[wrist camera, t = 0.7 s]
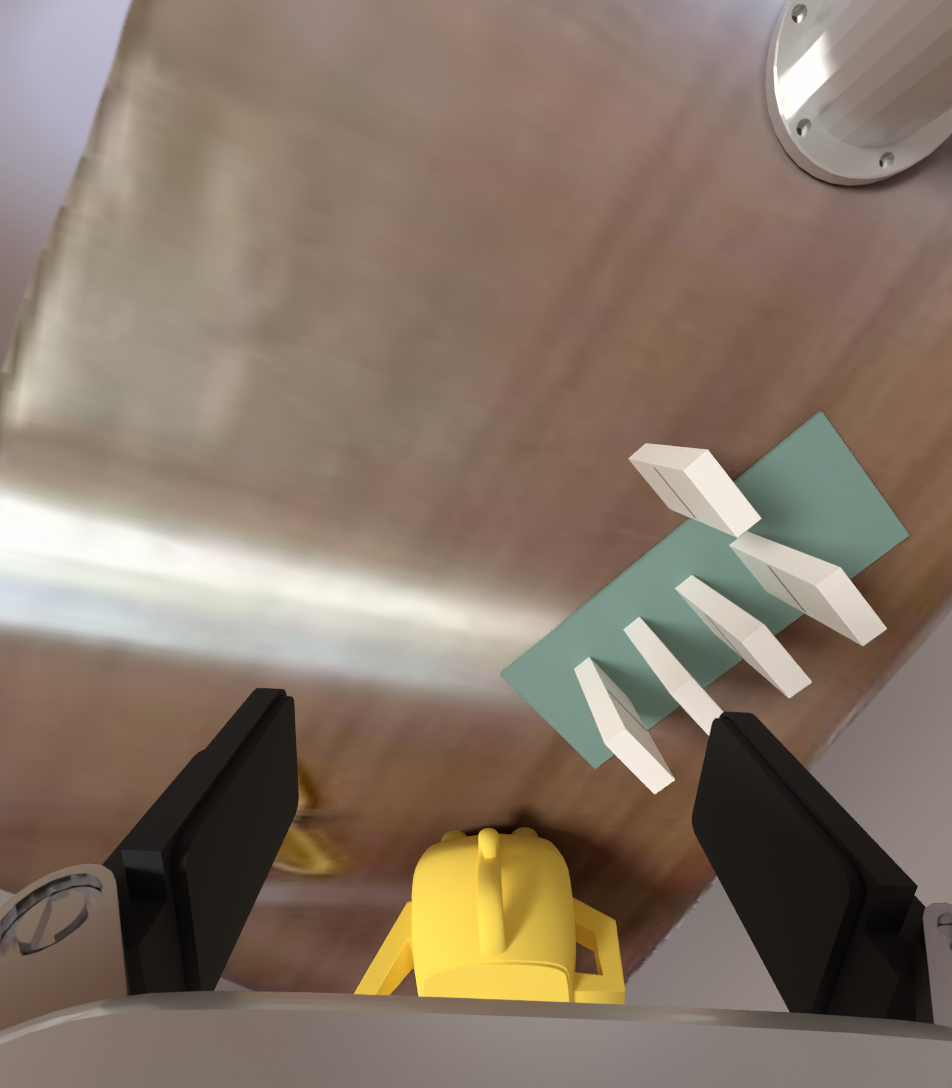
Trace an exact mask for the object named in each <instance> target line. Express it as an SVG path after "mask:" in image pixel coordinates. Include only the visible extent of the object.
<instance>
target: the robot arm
mask: <svg viewBox="0 0 952 1088" xmlns="http://www.w3.org/2000/svg"><path fill="white" fill-rule="evenodd" d="M765 91H766V98H767V105H768V112H769V115H770V119H771V122H772V125H773V128H774V131H775V134H776V135H777V137H778V139H779V141H780V142H781V144H782V146H783V148H784V149H785V151H786V152H787V153H788V155H789V156H790V157H791V158H792V159H793V160H794V161H795V162H796V164H797V165H798V166H800V167H801V168H802V169H804V170H805V171H807V172H808V173H810V174H811V175H812V176H814V177H816V178H819V179H822V180H824V181H827V182H829V183H833V184H840V185H848V186H853V185H864V184H871V183H875V182H878V181H881V180H884V179H888V178H890V177H892V176H894V175H896V174H898V173H900V172H902V171H904V170H906V169H907V168H909V167H911V166H912V165H914V164H915V163H917V162H919V161H920V160H922V159H923V158H925V157H926V156H928V155H930V154H931V153H932V152H933V151H934V150H935V149H936V148H938V147H939V146H940V145H941V144H942V143H943V142H944V141H945V140H947V139H948V138H949V136H950V135H951V134H952V0H786V2H785V4H784V6H783V8H782V10H781V12H780V14H779V16H778V19H777V22H776V25H775V28H774V31H773V34H772V37H771V40H770V46H769V51H768V57H767V62H766V84H765ZM298 800H299V793H298V772H297V751H296V731H295V710H294V699H293V697H292V696H287V695H286V692H285V690H284V689H271V688H256V689H255V690H254V691H253V692H252V693H251V695H250V696H249V697H248V698H247V699H246V701H245V702H244V703H243V704H242V705H241V707H240V708H239V709H238V710H237V711H236V713H235V714H234V715H233V716H232V717H231V719H230V720H229V721H228V722H227V723H226V725H225V726H224V727H223V728H222V729H221V731H220V732H219V733H218V734H217V735H216V737H215V738H214V739H213V740H212V741H211V743H210V744H209V745H208V746H207V747H206V749H205V750H202V751H200V752H198V753H197V754H196V755H195V756H194V757H193V758H192V759H191V761H190V762H189V763H188V764H187V765H186V767H185V768H184V769H183V770H182V771H181V772H180V774H179V775H178V776H177V777H176V778H175V780H174V781H173V782H172V783H171V784H170V785H169V787H168V788H167V789H166V790H165V791H164V793H163V794H162V795H161V796H160V797H159V798H158V800H157V801H156V802H155V803H154V804H153V805H152V807H151V808H150V809H149V810H148V811H147V813H146V814H145V815H144V816H143V817H142V818H141V820H140V821H139V822H138V823H137V824H136V826H135V827H134V828H133V829H132V830H131V831H130V833H129V834H128V835H127V836H126V837H125V839H124V840H123V841H122V842H121V843H120V844H119V846H118V847H117V848H116V849H115V850H114V852H113V853H112V854H111V855H110V856H109V857H108V859H107V860H106V861H105V862H104V863H103V865H94V864H84V865H77V866H71V867H68V868H65V869H62V870H59V871H56V872H53V873H51V874H49V875H47V876H45V877H43V878H41V879H39V880H37V881H35V882H34V883H32V884H30V885H29V886H27V887H26V888H24V889H23V890H22V891H20V892H19V893H17V894H16V895H14V896H13V897H12V898H11V899H10V900H9V901H8V902H6V903H5V904H4V906H2V907H1V908H0V1088H952V904H949V903H932V904H930V905H929V906H927V907H925V906H924V905H923V904H922V903H921V902H920V901H919V900H918V899H917V897H916V896H915V895H914V894H915V892H916V889H917V887H918V886H917V885H916V884H915V883H914V882H913V881H912V880H911V879H910V878H909V877H908V875H907V874H906V873H904V872H903V870H902V869H901V868H900V867H899V866H898V865H897V864H896V863H895V862H894V861H893V860H892V859H891V858H890V857H889V856H888V855H887V853H886V852H885V851H884V850H883V849H882V848H880V846H879V845H878V844H877V843H876V842H875V841H874V840H873V839H872V838H871V837H870V836H869V835H868V834H867V832H866V831H865V830H864V829H863V828H862V827H861V826H860V825H859V824H858V823H857V822H856V821H855V820H854V819H853V818H852V817H851V816H850V815H849V814H848V813H847V812H846V810H844V808H843V807H842V806H841V805H840V804H839V803H838V802H837V801H836V800H835V799H834V798H833V797H832V796H831V795H830V794H829V793H828V792H827V791H826V790H825V789H824V788H823V786H822V785H820V783H819V782H818V781H817V780H816V779H815V778H814V777H813V776H812V775H811V774H810V773H809V772H808V771H807V770H806V769H805V768H804V766H803V765H802V764H801V763H800V762H799V761H798V760H797V759H796V758H795V757H794V756H793V755H792V754H791V753H790V752H789V751H788V750H787V749H786V748H785V747H784V746H783V744H782V743H781V742H780V741H779V740H778V739H777V738H776V737H775V736H774V735H773V734H772V733H771V732H770V731H769V730H768V729H767V728H766V727H765V726H764V725H763V724H762V722H761V721H760V720H759V719H758V718H757V717H756V716H755V715H753V714H751V713H742V712H723V713H722V714H721V715H720V716H719V718H715V719H714V720H713V722H712V725H711V730H710V735H709V739H708V744H707V748H706V753H705V758H704V762H703V767H702V772H701V776H700V781H699V786H698V790H697V795H696V800H695V804H694V809H693V814H692V825H693V829H694V833H695V835H696V837H697V839H698V841H699V843H700V845H701V846H702V848H703V850H704V852H705V854H706V856H707V858H708V860H709V861H710V863H711V865H712V867H713V869H714V871H715V873H716V875H717V876H718V878H719V880H720V882H721V884H722V886H723V888H724V889H725V891H726V893H727V895H728V897H729V899H730V901H731V903H732V905H733V906H734V908H735V910H736V912H737V914H738V916H739V918H740V920H741V921H742V923H743V925H744V927H745V929H746V931H747V933H748V935H749V936H750V938H751V940H752V942H753V944H754V946H755V948H756V950H757V951H758V953H759V955H760V957H761V959H762V961H763V963H764V965H765V967H766V968H767V970H768V972H769V974H770V976H771V977H772V980H773V982H774V983H775V985H776V987H777V989H778V991H779V993H780V995H781V996H782V998H783V1000H784V1002H785V1004H786V1006H787V1008H788V1010H789V1011H790V1012H769V1011H749V1010H727V1009H707V1008H687V1007H666V1006H645V1005H622V1004H598V1003H575V1002H551V1001H527V1000H502V999H477V998H451V997H423V996H394V995H365V994H337V993H308V992H240V991H239V992H238V991H214V989H215V987H216V985H217V983H218V981H219V979H220V977H221V974H222V972H223V970H224V968H225V966H226V964H227V961H228V959H229V957H230V955H231V953H232V951H233V948H234V946H235V944H236V942H237V940H238V938H239V935H240V933H241V931H242V929H243V927H244V925H245V922H246V920H247V918H248V916H249V914H250V912H251V910H252V907H253V905H254V903H255V901H256V899H257V897H258V894H259V892H260V890H261V888H262V886H263V884H264V881H265V879H266V877H267V875H268V873H269V871H270V868H271V866H272V864H273V862H274V860H275V858H276V855H277V853H278V851H279V849H280V847H281V845H282V842H283V840H284V838H285V836H286V834H287V832H288V829H289V827H290V825H291V823H292V821H293V819H294V816H295V814H296V810H297V806H298Z"/></svg>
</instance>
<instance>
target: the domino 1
mask: <svg viewBox="0 0 952 1088" xmlns="http://www.w3.org/2000/svg"><path fill="white" fill-rule="evenodd" d="M628 459H629V460H630V462H631V463H632V464H633V465H634V466H635V468H636V469H637V470H638V471H639V472H640V474H641V475H642V476H643V477H644V478H645V480H646V481H647V482H648V483H649V484H650V486H651V487H652V488H653V489H654V490H655V492H656V493H657V494H658V495H659V497H660V498H661V499H662V500H663V501H664V503H665V504H666V505H667V506H668V507H669V509H671V510H673V511H675V512H678V513H680V514H682V515H685V516H687V517H690V518H692V519H694V520H697V521H699V522H701V523H704V524H706V525H708V526H711V527H713V528H715V529H718V530H720V531H722V532H725V533H727V534H729V535H732V536H734V537H736V538H738V537H739V536H740V535H742V534H743V533H744V532H745V531H747V530H748V529H749V528H750V527H752V526H753V525H754V524H755V523H757V522H758V521H759V520H760V519H762V518H761V517H760V516H759V515H758V513H757V512H756V511H755V509H754V508H753V507H752V506H751V504H750V503H749V502H748V500H747V499H746V498H745V497H744V495H743V494H742V493H741V492H740V490H739V489H738V488H737V486H736V485H735V484H734V483H733V481H732V480H731V479H730V477H729V476H728V475H727V474H726V472H725V471H724V470H723V468H722V467H721V466H720V465H719V463H718V462H717V461H716V460H715V458H714V457H713V456H712V454H711V453H710V452H709V451H708V450H706V449H696V448H686V447H677V446H667V445H657V444H648V443H646V444H645V445H643V446H642V447H641V448H640V449H639V450H638V451H637V452H635V453H634V454H633V455H632V456H631V457H630V458H628Z"/></svg>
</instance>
